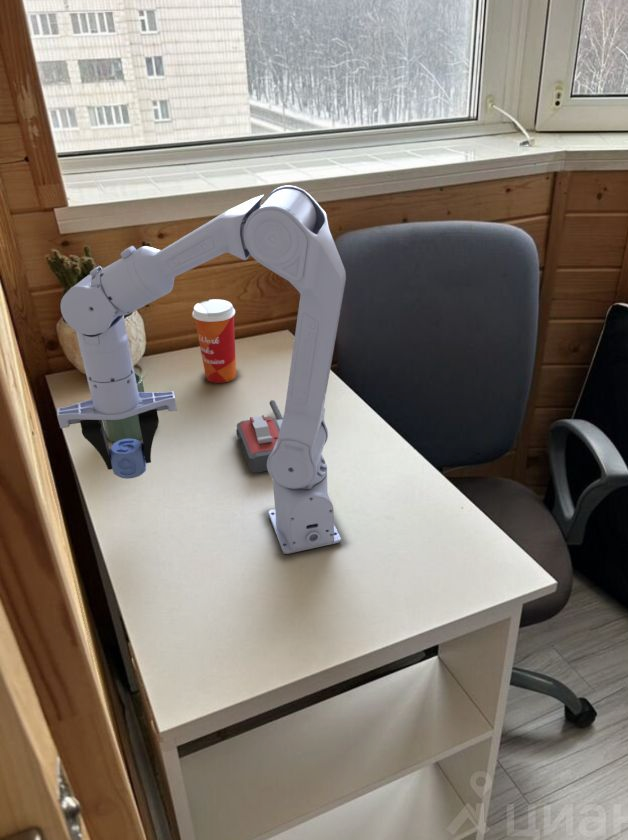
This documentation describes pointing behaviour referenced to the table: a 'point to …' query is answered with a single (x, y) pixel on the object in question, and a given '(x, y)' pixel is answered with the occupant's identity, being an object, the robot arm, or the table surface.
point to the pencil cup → (125, 422)
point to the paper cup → (216, 339)
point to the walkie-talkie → (259, 438)
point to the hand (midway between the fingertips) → (129, 462)
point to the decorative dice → (128, 458)
